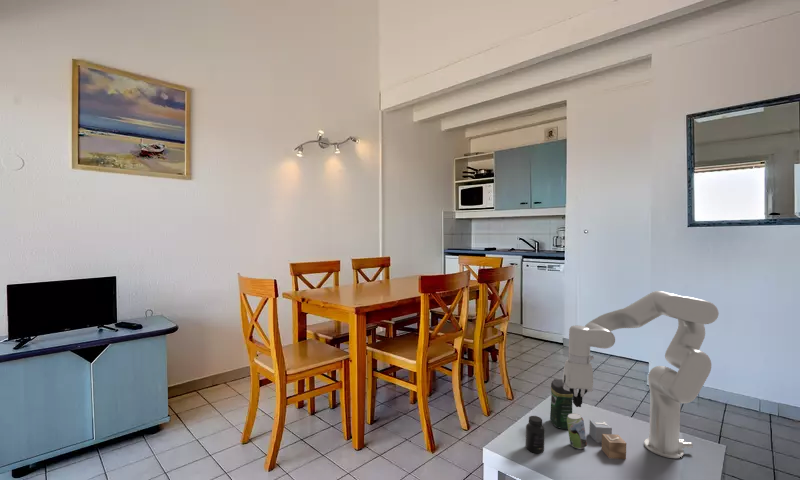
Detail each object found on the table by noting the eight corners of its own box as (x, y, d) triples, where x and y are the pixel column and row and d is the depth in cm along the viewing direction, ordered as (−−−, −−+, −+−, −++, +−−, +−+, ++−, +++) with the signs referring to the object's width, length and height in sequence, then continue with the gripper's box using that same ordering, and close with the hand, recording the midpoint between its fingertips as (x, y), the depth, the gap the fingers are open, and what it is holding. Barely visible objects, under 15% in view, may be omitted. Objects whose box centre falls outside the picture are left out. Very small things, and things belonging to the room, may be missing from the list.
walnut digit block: (617, 450, 147) (618, 434, 147) (625, 459, 141) (626, 442, 141) (601, 449, 148) (602, 433, 147) (609, 458, 142) (609, 441, 141)
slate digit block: (604, 435, 158) (604, 420, 158) (611, 442, 152) (611, 427, 152) (589, 434, 159) (589, 419, 158) (595, 442, 153) (596, 426, 152)
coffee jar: (575, 430, 161) (576, 386, 161) (556, 430, 161) (557, 386, 161) (565, 419, 171) (566, 377, 171) (547, 418, 171) (548, 377, 171)
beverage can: (588, 451, 145) (589, 420, 145) (568, 449, 147) (568, 418, 147) (584, 443, 152) (585, 412, 151) (564, 440, 153) (565, 410, 153)
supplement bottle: (521, 445, 149) (522, 414, 149) (537, 443, 150) (538, 413, 150) (531, 455, 142) (532, 423, 142) (548, 453, 144) (548, 422, 143)
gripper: (594, 356, 152) (593, 402, 152) (555, 354, 153) (554, 400, 153) (603, 362, 144) (601, 411, 145) (562, 360, 145) (560, 409, 146)
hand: (577, 405), depth 149 cm, fingers closed
